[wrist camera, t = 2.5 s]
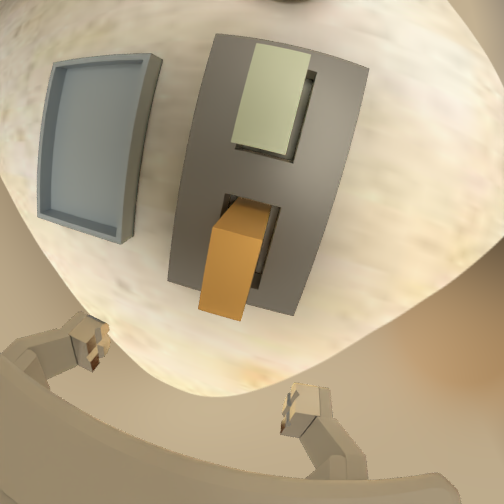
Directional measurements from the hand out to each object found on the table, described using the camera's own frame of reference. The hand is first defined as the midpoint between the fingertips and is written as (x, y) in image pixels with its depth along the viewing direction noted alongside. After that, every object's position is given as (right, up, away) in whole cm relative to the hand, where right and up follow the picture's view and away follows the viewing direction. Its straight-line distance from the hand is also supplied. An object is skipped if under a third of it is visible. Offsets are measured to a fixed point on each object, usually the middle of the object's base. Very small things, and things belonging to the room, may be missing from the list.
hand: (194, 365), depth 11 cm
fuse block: (+3, +11, +13) cm, 17 cm away
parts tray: (-14, +16, +13) cm, 25 cm away
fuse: (+4, +16, +11) cm, 20 cm away
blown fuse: (+2, +6, +15) cm, 17 cm away
